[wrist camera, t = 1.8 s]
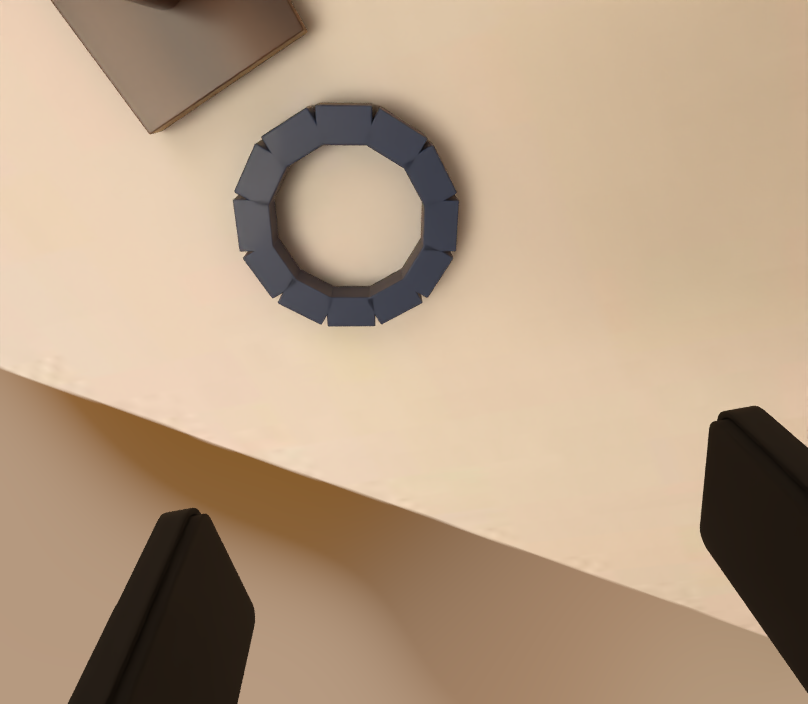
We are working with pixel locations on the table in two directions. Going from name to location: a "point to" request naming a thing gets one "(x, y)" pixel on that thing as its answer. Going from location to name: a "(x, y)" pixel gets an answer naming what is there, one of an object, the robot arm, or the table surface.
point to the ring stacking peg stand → (179, 47)
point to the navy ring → (277, 263)
